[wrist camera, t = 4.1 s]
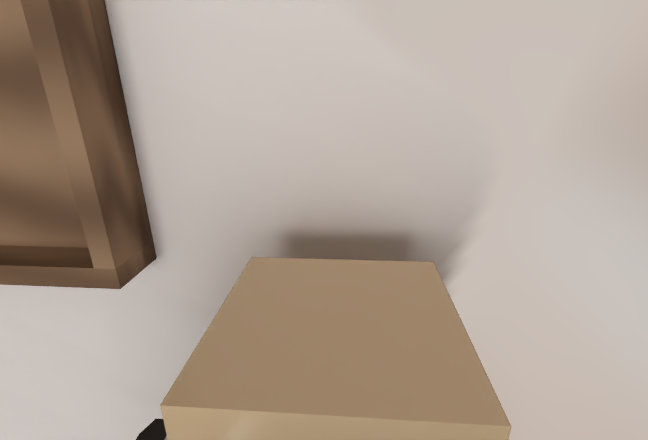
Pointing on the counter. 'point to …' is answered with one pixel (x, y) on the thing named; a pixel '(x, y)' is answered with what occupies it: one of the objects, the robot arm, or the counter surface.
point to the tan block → (335, 359)
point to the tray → (66, 151)
